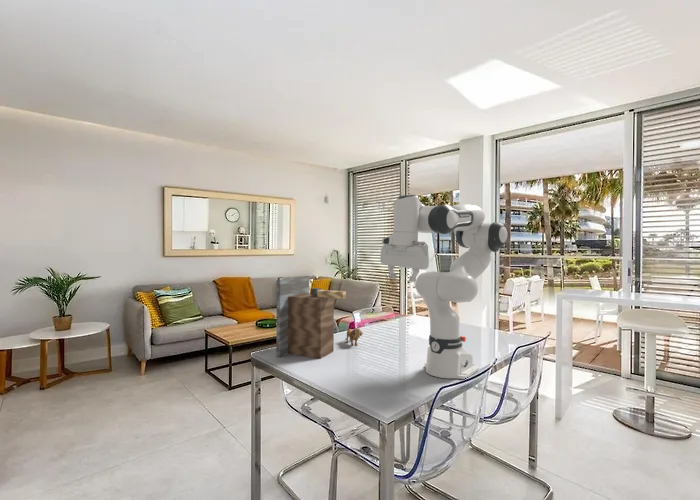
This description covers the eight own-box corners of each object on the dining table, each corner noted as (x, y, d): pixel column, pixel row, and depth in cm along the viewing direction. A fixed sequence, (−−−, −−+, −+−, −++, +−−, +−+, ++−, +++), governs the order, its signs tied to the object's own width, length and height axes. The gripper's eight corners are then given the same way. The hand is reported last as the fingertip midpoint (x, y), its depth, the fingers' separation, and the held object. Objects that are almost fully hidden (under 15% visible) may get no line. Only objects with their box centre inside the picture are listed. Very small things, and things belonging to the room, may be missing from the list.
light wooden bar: (346, 298, 165) (346, 289, 165) (342, 299, 161) (342, 290, 161) (315, 295, 172) (315, 287, 172) (311, 296, 168) (311, 288, 168)
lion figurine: (364, 346, 181) (364, 328, 181) (354, 348, 179) (354, 329, 178) (349, 339, 194) (349, 322, 194) (340, 341, 191) (340, 323, 191)
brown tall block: (339, 348, 178) (339, 277, 177) (313, 362, 156) (313, 281, 156) (305, 343, 186) (305, 275, 186) (276, 356, 164) (276, 279, 164)
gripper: (434, 242, 124) (431, 283, 125) (390, 240, 140) (388, 276, 141) (421, 241, 120) (419, 284, 121) (378, 239, 136) (376, 276, 137)
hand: (402, 279), depth 131 cm, fingers open, 8 cm apart
